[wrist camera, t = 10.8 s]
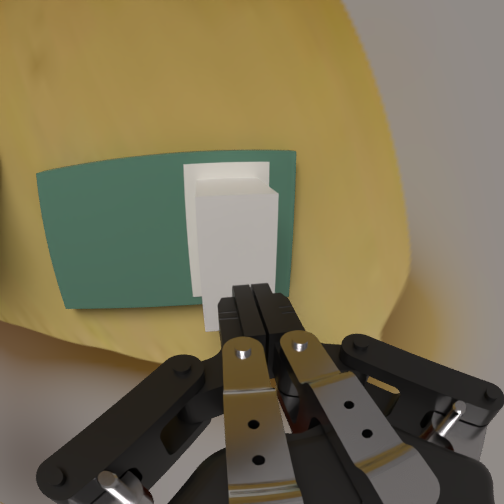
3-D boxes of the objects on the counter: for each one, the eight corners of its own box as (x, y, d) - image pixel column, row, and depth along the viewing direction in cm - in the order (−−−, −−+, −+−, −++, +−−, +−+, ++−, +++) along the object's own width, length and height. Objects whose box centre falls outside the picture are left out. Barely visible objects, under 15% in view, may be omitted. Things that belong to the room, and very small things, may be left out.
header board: (71, 300, 23) (54, 328, 18) (45, 170, 18) (15, 180, 14) (284, 288, 26) (299, 316, 22) (290, 150, 21) (311, 154, 17)
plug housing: (196, 179, 19) (195, 196, 14) (256, 177, 20) (278, 193, 14) (203, 284, 22) (205, 331, 17) (255, 280, 23) (272, 325, 18)
